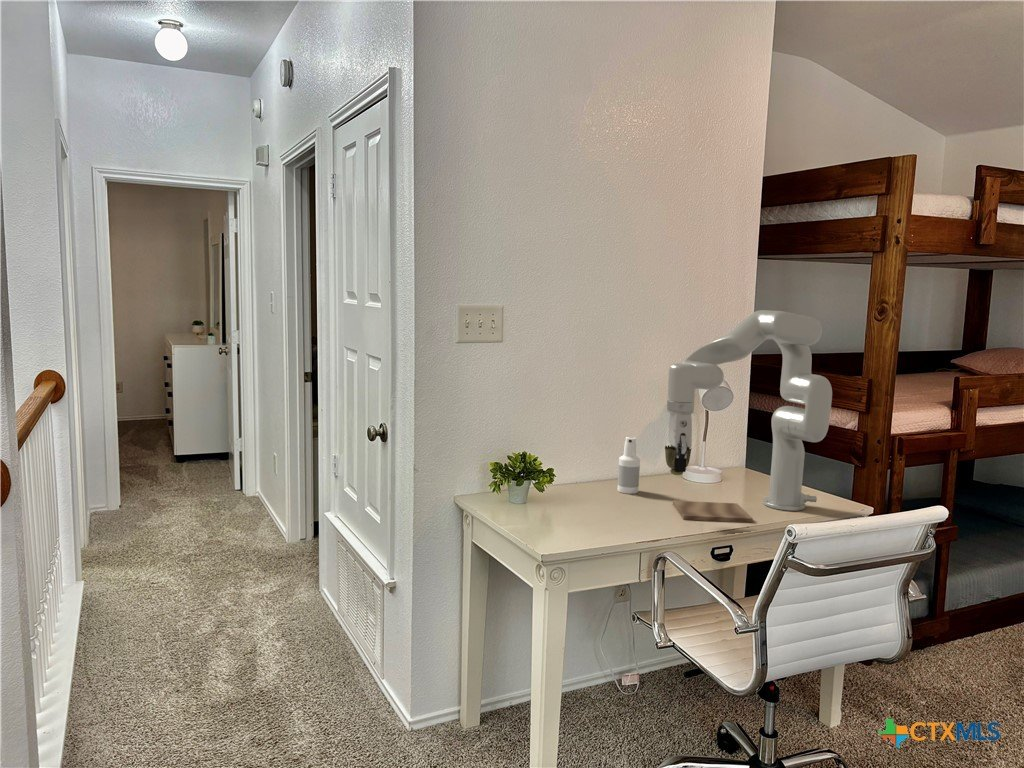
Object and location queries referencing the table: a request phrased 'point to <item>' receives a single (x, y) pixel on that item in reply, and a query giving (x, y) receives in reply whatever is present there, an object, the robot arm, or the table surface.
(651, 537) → the table surface
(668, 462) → the cup
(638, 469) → the spray bottle
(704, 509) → the walnut board
